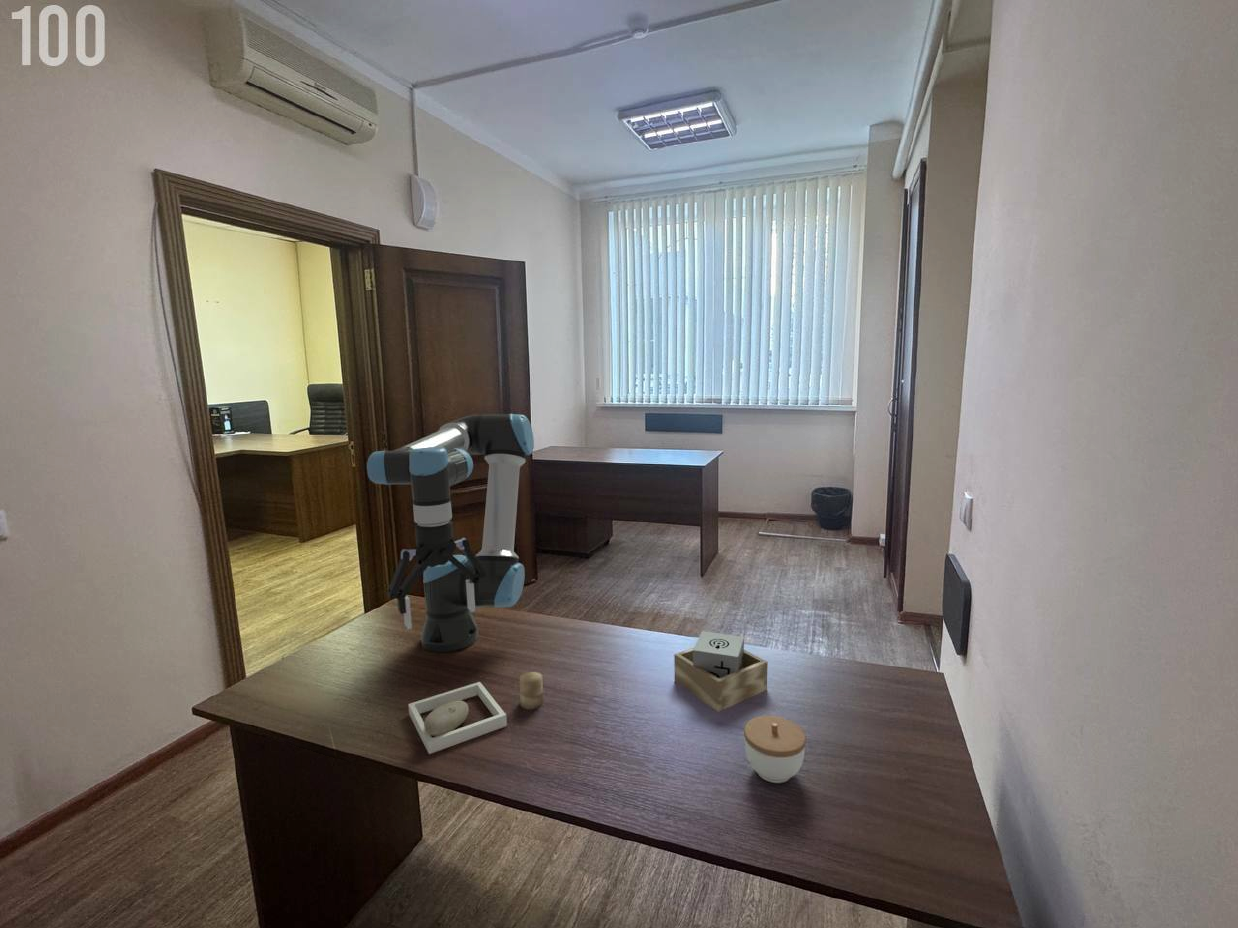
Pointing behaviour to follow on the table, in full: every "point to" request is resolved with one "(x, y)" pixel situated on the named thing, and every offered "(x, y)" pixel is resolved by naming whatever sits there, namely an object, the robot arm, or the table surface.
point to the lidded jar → (774, 747)
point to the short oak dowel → (531, 690)
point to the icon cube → (719, 653)
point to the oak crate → (721, 680)
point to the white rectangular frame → (461, 733)
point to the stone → (446, 718)
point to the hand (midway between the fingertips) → (440, 618)
